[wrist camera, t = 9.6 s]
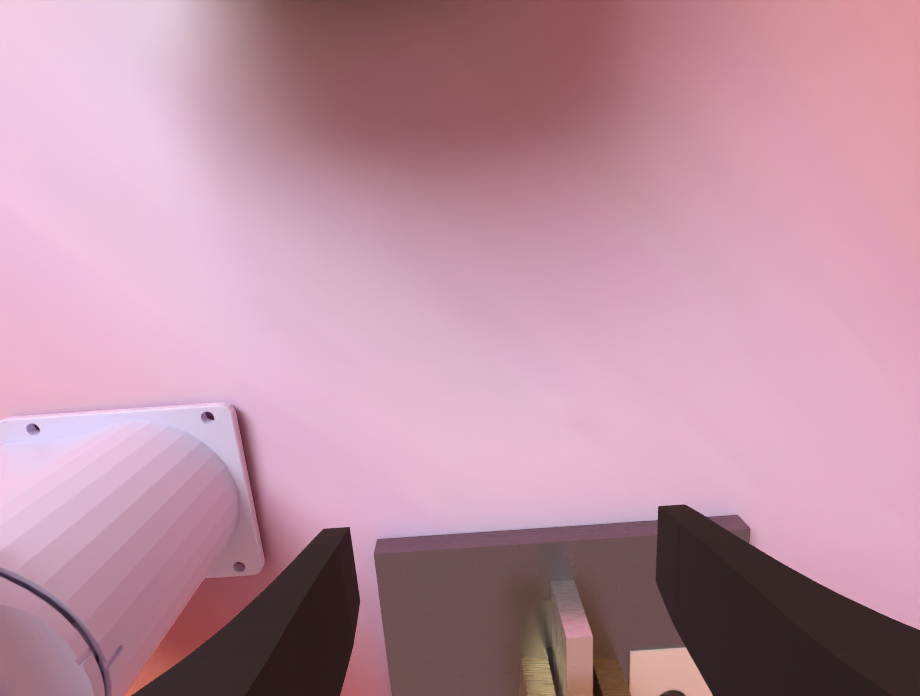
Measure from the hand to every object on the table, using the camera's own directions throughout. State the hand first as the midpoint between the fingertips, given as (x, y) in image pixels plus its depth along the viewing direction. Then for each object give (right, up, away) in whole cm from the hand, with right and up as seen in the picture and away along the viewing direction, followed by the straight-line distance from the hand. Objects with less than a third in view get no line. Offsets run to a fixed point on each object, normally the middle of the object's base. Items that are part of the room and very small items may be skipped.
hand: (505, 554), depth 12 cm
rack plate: (+4, -13, +13) cm, 19 cm away
